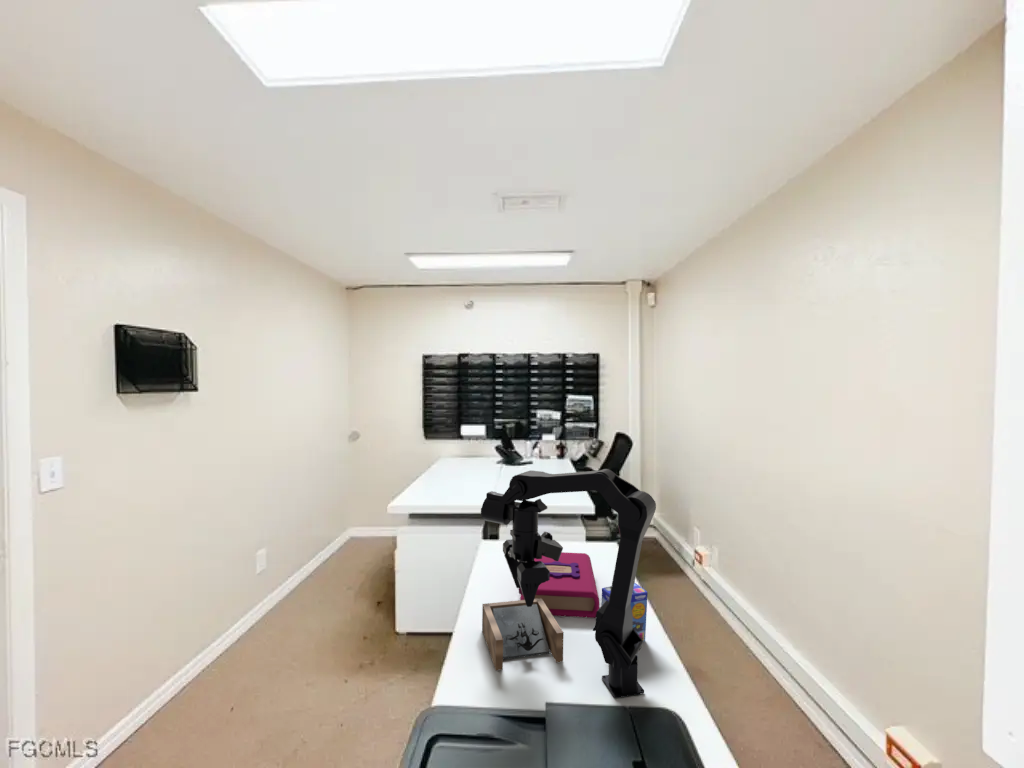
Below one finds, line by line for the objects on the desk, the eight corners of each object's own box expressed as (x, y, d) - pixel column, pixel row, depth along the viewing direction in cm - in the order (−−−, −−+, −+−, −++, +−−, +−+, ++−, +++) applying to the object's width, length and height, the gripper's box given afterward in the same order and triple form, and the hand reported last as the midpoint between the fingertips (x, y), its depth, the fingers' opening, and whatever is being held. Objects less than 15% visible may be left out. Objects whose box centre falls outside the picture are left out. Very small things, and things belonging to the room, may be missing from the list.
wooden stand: (562, 661, 107) (563, 632, 107) (495, 670, 104) (496, 640, 104) (541, 623, 123) (541, 598, 123) (482, 630, 120) (482, 603, 120)
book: (590, 575, 154) (590, 551, 154) (599, 620, 127) (599, 591, 126) (523, 572, 156) (523, 548, 156) (517, 615, 128) (518, 587, 128)
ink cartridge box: (611, 649, 112) (612, 587, 112) (598, 637, 118) (600, 577, 117) (647, 641, 116) (649, 581, 116) (633, 630, 121) (635, 572, 121)
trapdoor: (549, 653, 111) (549, 651, 110) (501, 659, 108) (501, 657, 108) (536, 606, 121) (536, 604, 120) (492, 610, 118) (492, 608, 118)
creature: (502, 632, 114) (511, 660, 107) (503, 613, 112) (513, 640, 105) (534, 626, 116) (545, 653, 109) (536, 608, 114) (547, 634, 107)
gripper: (573, 540, 103) (572, 613, 104) (546, 514, 121) (545, 576, 122) (522, 543, 100) (521, 618, 101) (502, 516, 119) (501, 580, 119)
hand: (523, 596), depth 111 cm, fingers open, 9 cm apart
